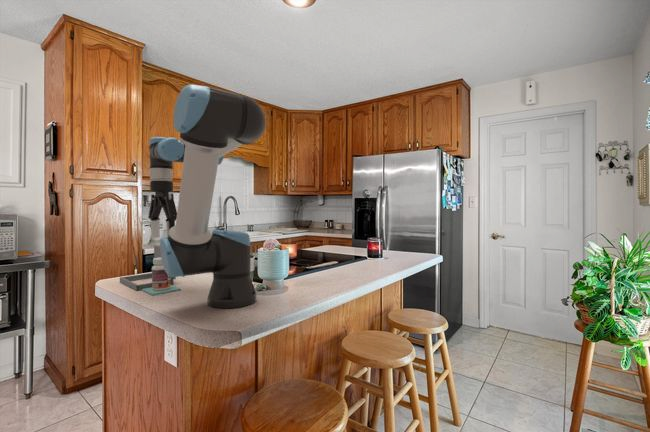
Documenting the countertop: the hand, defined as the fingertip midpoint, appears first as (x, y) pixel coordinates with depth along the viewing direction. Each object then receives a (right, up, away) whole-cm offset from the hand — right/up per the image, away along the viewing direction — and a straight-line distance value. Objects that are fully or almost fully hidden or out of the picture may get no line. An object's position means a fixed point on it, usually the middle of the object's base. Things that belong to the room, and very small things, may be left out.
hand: (163, 238), depth 123 cm
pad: (-1, -19, 0) cm, 19 cm away
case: (-12, -19, +11) cm, 25 cm away
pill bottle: (-1, -19, 0) cm, 19 cm away
